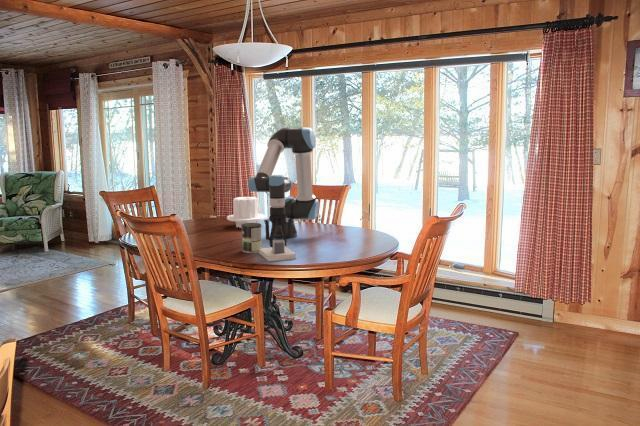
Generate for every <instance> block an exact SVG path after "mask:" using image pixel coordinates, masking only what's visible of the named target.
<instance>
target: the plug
mask: <svg viewBox="0 0 640 426" xmlns="http://www.w3.org/2000/svg"><path fill="white" fill-rule="evenodd" d="M274 241H275V243H274V245H275V254H279V253H284V243H283V242H282V239H278V240H274Z"/></svg>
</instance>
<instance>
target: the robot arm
mask: <svg viewBox="0 0 640 426" xmlns="http://www.w3.org/2000/svg"><path fill="white" fill-rule="evenodd" d="M315 148H316V135H315V132H314V130H313V129H312V128H311V127H306V126H305V127H304V126H297V127H295V126H293V127H292V126H291V127H288V126H287V127H283V128H280V129H278V130H277V131H275V132H274V133H273V134H272V135H271V137H270V138H269V140H268V141H267V149H266V151H265V154H264V156H263V159H262V160H261V163H260V165H259V167H258V170H257V172H256V174H255V176H251V177H249V179H248V181H247V187H248V190H249V191H250V192H253V193H254V192H256V193H269V217H268V218H266V219H263V222H264V224H265V239H266V240H268V241H269V248H271V247H272V253H273V254H275V245H274V243H275V241H276V240H274V239H281V241H282V242H283V243H284V253H285V246H286V247H287V240H289V239H293V238H296V237H297V236H298V231H297V228H296V225H295V220H305V221H306V220H307V221H310V220H316V219H317V217H318V214H319V210H320V201H319V200H318V199H316V195H315V194H314V193H313V179H312V160H311V153H312V152H313V150H314V149H315ZM286 149H291V153H292V154H294V157H295V158H294V159H295V174H296V186H297V187H296V188H297V195H296V196H295V198H294V196H286V193H288V192H289V191H291V190H292V188H293V185H294V184H293V179H291V178H290V177H288V176H284V175H283V174H273V172H274V170H275V167H276V165H277V163H278V161H279V157H280V155H281V154H282V153H283V152H284V150H286ZM270 222H271V229H270Z"/></svg>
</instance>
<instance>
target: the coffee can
mask: <svg viewBox="0 0 640 426" xmlns="http://www.w3.org/2000/svg"><path fill="white" fill-rule="evenodd" d="M241 243H242V244H241V245H242V246H241V247H242V248H241V250H242V253H245V254H255V253H256V254H257V253H259V249H260V248H263V247H262V223H259V222H257V223H245V224H242V228H241Z"/></svg>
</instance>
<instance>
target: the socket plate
mask: <svg viewBox="0 0 640 426" xmlns="http://www.w3.org/2000/svg"><path fill="white" fill-rule="evenodd" d="M258 253H259V255H261V257H263V258H264V259H265V260H266V261H267V262H276V261H288V260H296V259H297V253H296V252H294V251H293V250H292V249H290V248H289V247H287V245H286V246H285V253H279V254H273V253H272V247H262V248H260V249H259V252H258Z"/></svg>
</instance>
